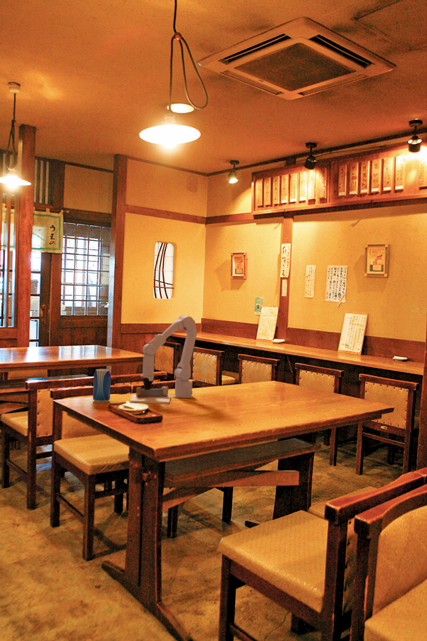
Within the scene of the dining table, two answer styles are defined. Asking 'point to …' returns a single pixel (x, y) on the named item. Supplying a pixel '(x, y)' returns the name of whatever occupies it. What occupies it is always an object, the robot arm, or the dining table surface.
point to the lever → (151, 392)
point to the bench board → (151, 399)
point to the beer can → (101, 386)
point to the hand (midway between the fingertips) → (147, 392)
